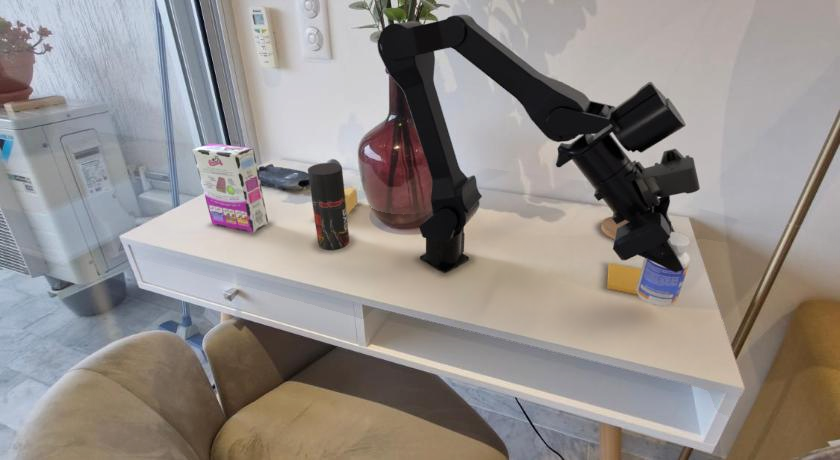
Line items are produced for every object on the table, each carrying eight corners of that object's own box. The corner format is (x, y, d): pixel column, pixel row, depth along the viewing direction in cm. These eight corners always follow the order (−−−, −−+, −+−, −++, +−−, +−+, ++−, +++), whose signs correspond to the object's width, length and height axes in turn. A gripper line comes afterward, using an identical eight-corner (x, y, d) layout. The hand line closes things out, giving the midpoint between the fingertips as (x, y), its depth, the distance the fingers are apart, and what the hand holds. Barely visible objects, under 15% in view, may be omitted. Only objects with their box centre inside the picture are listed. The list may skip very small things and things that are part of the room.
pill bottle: (681, 310, 61) (703, 250, 56) (639, 305, 62) (657, 246, 57) (669, 287, 65) (689, 230, 61) (631, 283, 66) (647, 226, 62)
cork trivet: (642, 250, 80) (643, 245, 79) (591, 231, 86) (592, 226, 86) (664, 232, 86) (665, 227, 85) (615, 215, 92) (616, 211, 92)
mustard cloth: (655, 298, 67) (656, 295, 67) (607, 288, 70) (607, 285, 69) (653, 274, 73) (653, 271, 73) (608, 266, 75) (609, 263, 75)
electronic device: (249, 191, 110) (295, 193, 103) (245, 169, 108) (291, 170, 101) (276, 183, 117) (320, 184, 111) (272, 162, 116) (317, 162, 109)
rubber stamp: (341, 223, 91) (335, 168, 85) (315, 220, 92) (308, 166, 86) (358, 203, 99) (353, 152, 94) (334, 201, 100) (328, 151, 95)
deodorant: (349, 249, 81) (341, 173, 74) (316, 251, 81) (305, 175, 74) (349, 234, 87) (342, 162, 79) (319, 236, 86) (309, 163, 79)
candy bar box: (270, 223, 91) (255, 147, 83) (254, 234, 87) (236, 155, 79) (228, 215, 95) (210, 141, 87) (211, 225, 91) (190, 148, 83)
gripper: (670, 158, 46) (755, 270, 48) (667, 118, 61) (732, 204, 62) (580, 211, 53) (656, 307, 54) (597, 163, 68) (657, 239, 69)
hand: (678, 260), depth 60 cm, fingers closed on pill bottle, 5 cm apart
